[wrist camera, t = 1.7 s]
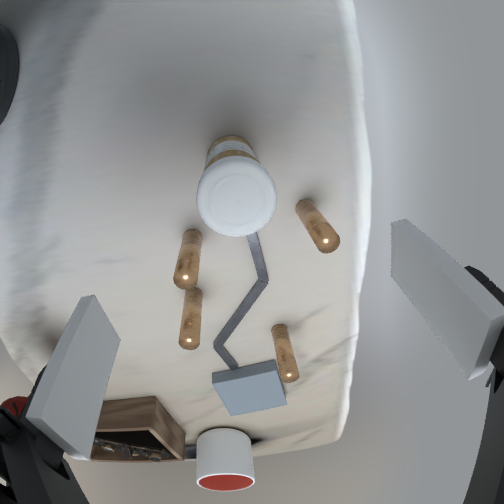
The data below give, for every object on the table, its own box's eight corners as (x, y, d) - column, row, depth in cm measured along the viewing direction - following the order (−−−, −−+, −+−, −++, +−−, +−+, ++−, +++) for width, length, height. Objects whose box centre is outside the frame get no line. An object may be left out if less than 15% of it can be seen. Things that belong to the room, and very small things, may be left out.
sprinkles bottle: (234, 189, 31) (243, 253, 19) (197, 162, 29) (179, 210, 17) (264, 153, 29) (295, 194, 17) (226, 124, 28) (229, 144, 16)
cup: (249, 423, 50) (255, 471, 41) (250, 447, 54) (255, 489, 46) (193, 425, 49) (192, 474, 40) (200, 449, 54) (200, 491, 45)
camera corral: (60, 403, 45) (52, 428, 40) (154, 396, 44) (150, 426, 39) (96, 437, 51) (91, 461, 45) (185, 433, 50) (184, 460, 45)
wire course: (156, 225, 32) (138, 263, 24) (310, 183, 31) (336, 211, 24) (220, 369, 42) (221, 415, 35) (333, 341, 42) (350, 384, 34)
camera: (88, 419, 48) (79, 453, 41) (82, 401, 45) (71, 437, 38) (171, 435, 51) (169, 471, 44) (172, 418, 48) (169, 457, 41)
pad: (212, 373, 42) (212, 383, 41) (274, 359, 42) (276, 370, 40) (230, 406, 47) (230, 416, 45) (285, 394, 46) (287, 404, 44)
